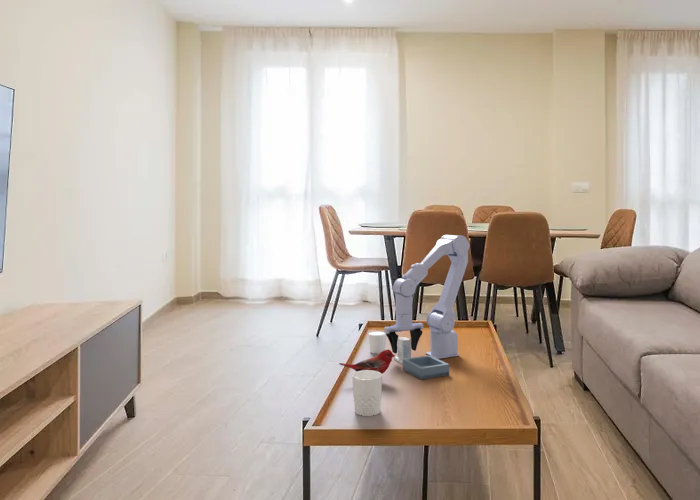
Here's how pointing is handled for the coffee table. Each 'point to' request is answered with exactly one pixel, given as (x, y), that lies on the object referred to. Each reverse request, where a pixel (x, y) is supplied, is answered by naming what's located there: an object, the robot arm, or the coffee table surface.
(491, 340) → the coffee table surface
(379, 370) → the decorative bird figurine
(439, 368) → the slate well
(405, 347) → the grey t-shaped bar
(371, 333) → the off-white tapered cylinder
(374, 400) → the white cup
